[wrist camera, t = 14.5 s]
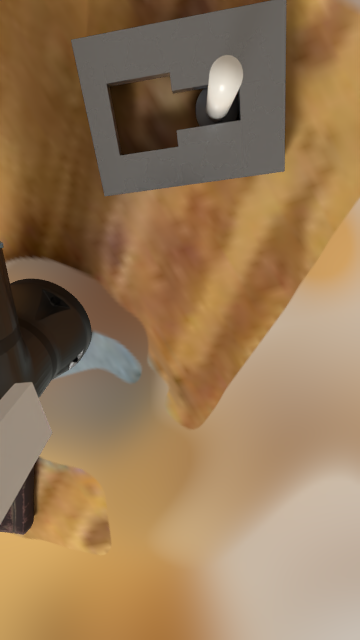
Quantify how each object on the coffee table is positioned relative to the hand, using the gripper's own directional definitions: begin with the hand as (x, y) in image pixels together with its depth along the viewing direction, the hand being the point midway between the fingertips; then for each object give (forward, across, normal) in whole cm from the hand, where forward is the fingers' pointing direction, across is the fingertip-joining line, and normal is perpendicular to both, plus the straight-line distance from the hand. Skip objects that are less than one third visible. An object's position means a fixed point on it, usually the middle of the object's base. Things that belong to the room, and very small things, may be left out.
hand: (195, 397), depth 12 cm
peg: (+32, +4, +14) cm, 35 cm away
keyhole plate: (+32, 0, +14) cm, 35 cm away
